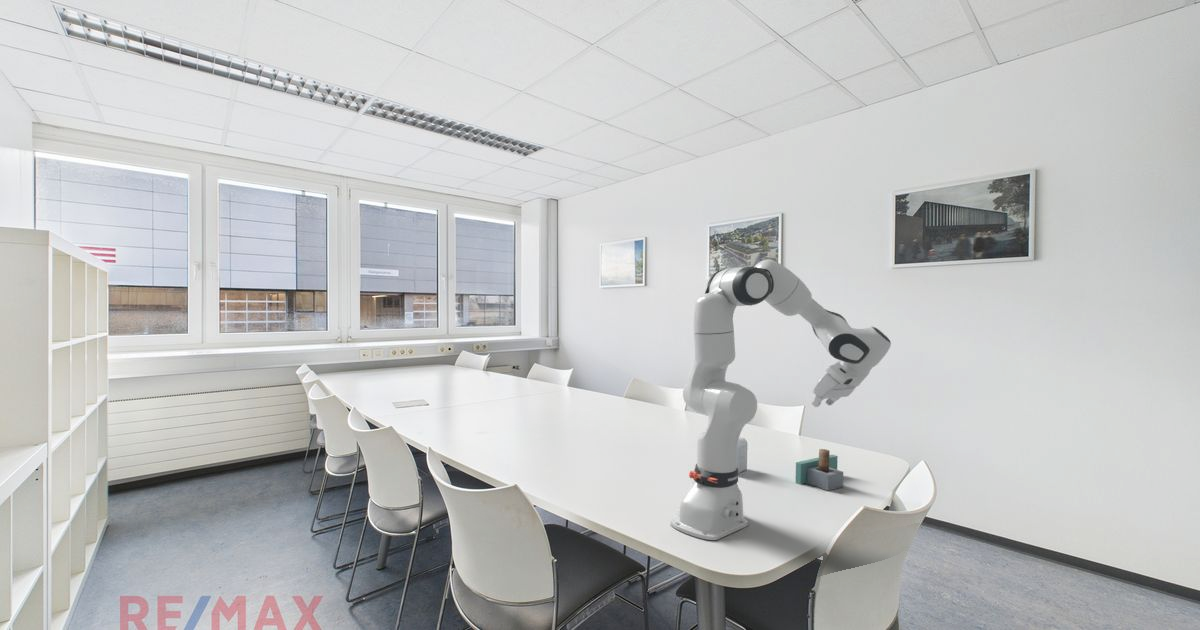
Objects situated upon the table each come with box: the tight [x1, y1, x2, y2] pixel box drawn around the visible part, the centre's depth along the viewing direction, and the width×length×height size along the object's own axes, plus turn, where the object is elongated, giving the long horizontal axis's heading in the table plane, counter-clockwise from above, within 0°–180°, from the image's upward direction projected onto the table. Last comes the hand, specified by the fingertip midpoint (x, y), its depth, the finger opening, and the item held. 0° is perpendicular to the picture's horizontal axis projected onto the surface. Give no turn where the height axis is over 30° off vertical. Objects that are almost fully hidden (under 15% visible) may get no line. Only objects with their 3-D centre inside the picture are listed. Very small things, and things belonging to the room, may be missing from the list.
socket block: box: [806, 466, 844, 491], centre depth 160 cm, size 8×8×5 cm
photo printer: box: [737, 436, 748, 473], centre depth 173 cm, size 10×4×12 cm, turn 134°
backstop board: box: [795, 454, 839, 485], centre depth 166 cm, size 2×20×7 cm, turn 119°
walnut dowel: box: [818, 448, 831, 473], centre depth 160 cm, size 3×3×10 cm
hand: (821, 404), depth 154 cm, fingers open, 8 cm apart
